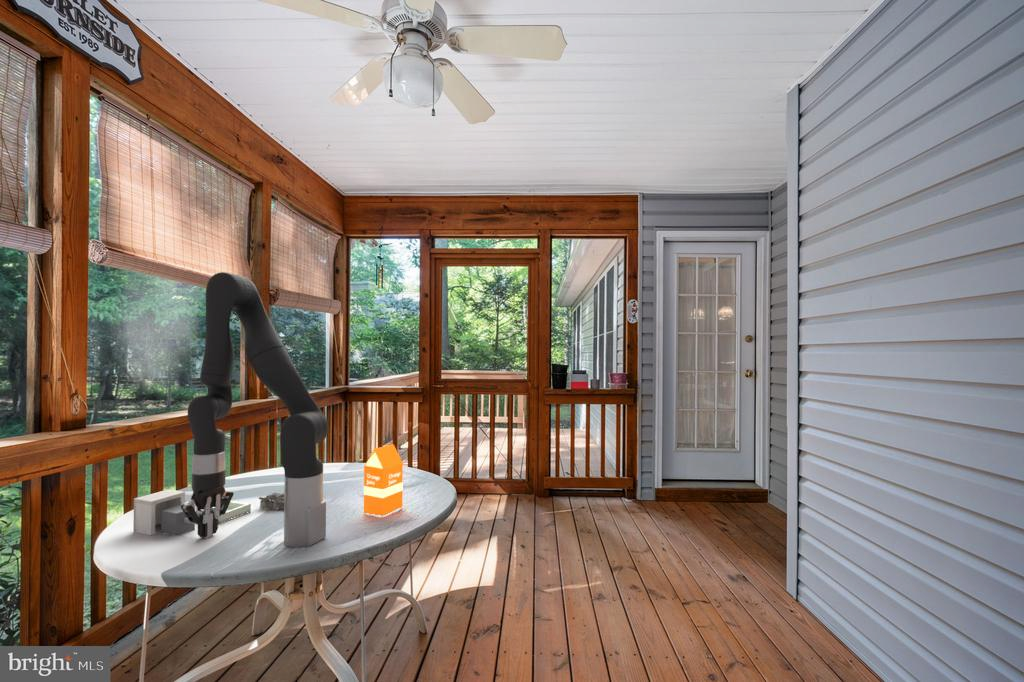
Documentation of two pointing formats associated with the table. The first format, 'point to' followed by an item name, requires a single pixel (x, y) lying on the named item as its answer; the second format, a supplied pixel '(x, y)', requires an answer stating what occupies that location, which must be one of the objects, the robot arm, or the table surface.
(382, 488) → the orange juice
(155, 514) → the bay
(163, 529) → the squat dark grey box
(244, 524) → the table surface
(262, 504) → the egg carton
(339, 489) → the table surface
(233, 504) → the tray
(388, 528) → the table surface
